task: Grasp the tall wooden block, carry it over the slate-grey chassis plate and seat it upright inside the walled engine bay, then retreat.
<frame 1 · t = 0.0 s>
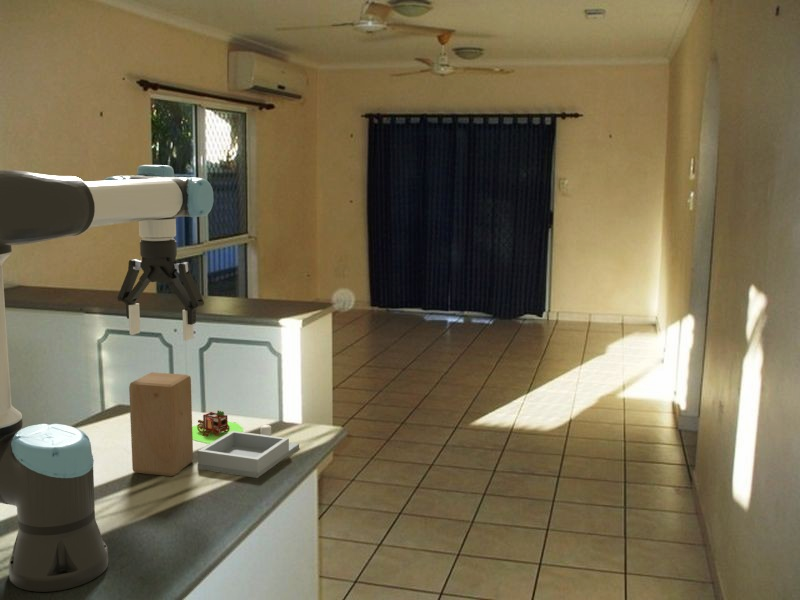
hand: (161, 336, 186), 28 cm above the counter, fingers open, 13 cm apart
wooden block: (163, 468, 187), on the counter
wagon: (216, 434, 211), on the counter
chassis: (250, 457, 193), on the counter
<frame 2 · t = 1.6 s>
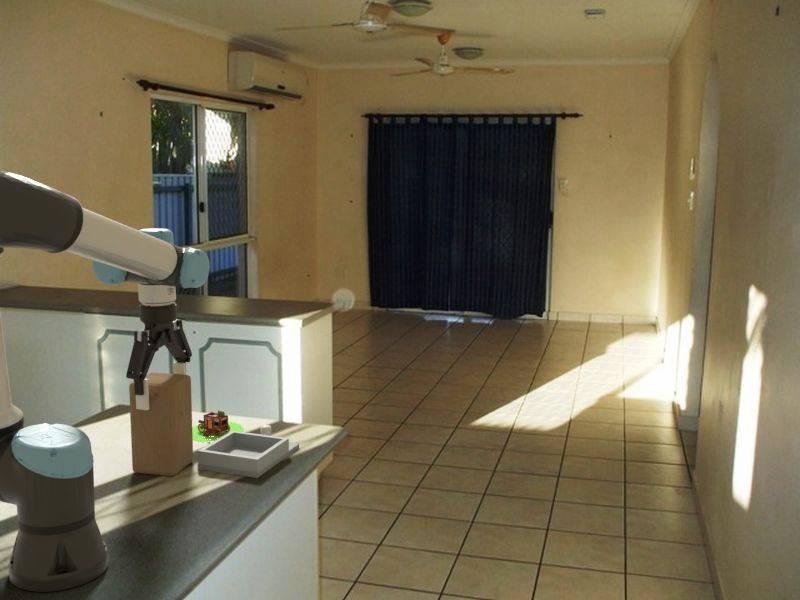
hand: (162, 400, 184), 15 cm above the counter, fingers open, 13 cm apart
nothing on the counter moved.
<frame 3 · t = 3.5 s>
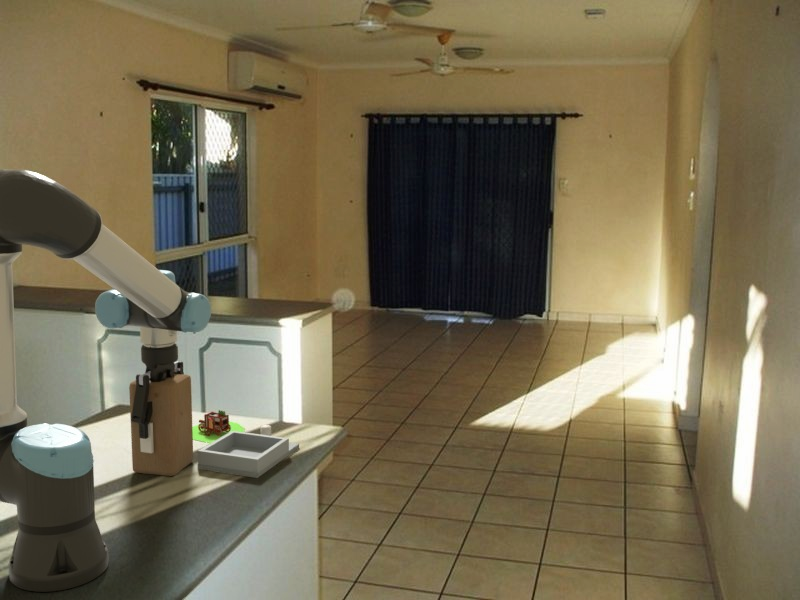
hand: (162, 443, 186), 5 cm above the counter, fingers closed on wooden block, 10 cm apart
wooden block: (163, 468, 187), on the counter, touching gripper
everything else where it was.
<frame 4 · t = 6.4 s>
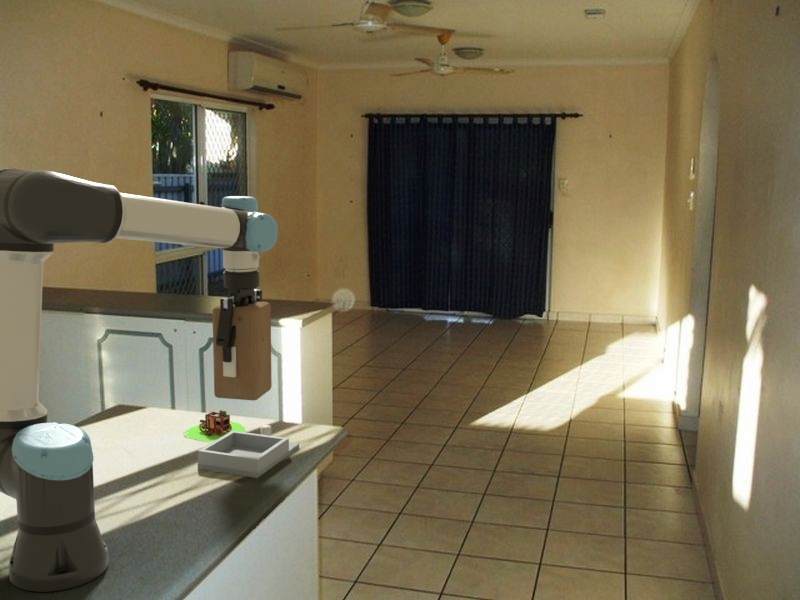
hand: (243, 370, 187), 21 cm above the counter, fingers closed on wooden block, 10 cm apart
wooden block: (243, 395, 188), point 15 cm above the counter, touching gripper
everything else where it was.
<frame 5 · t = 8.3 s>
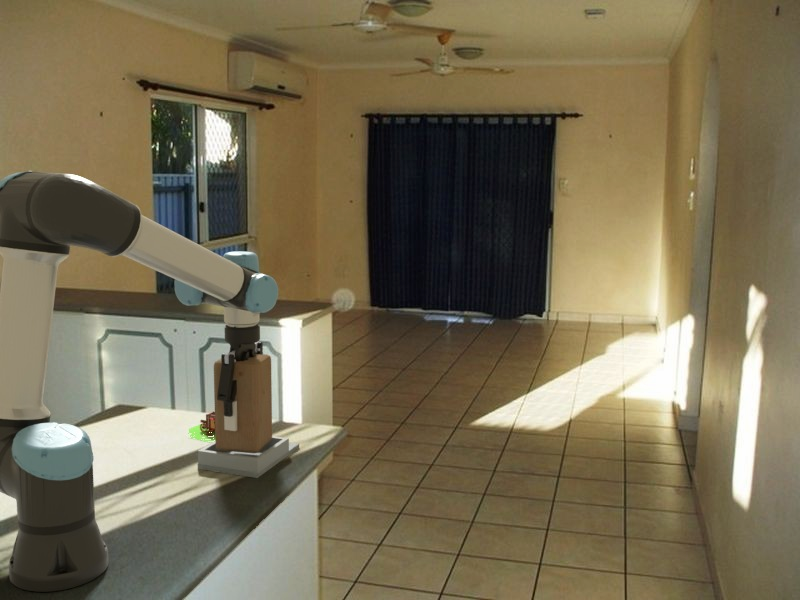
hand: (244, 422, 189), 9 cm above the counter, fingers closed on wooden block, 10 cm apart
wooden block: (244, 446, 190), point 3 cm above the counter, touching gripper
everything else where it was.
when the fingers open (8 cm above the counter, at t = 9.5 s): wooden block drops 2 cm, resting on chassis.
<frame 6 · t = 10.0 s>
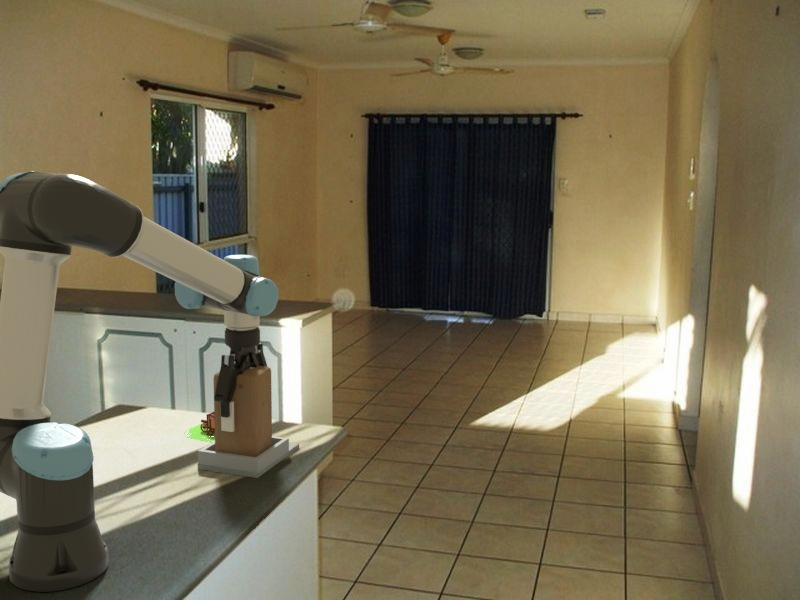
hand: (243, 421, 189), 9 cm above the counter, fingers open, 13 cm apart
wooden block: (244, 458, 191), point 1 cm above the counter, touching chassis
everything else where it was.
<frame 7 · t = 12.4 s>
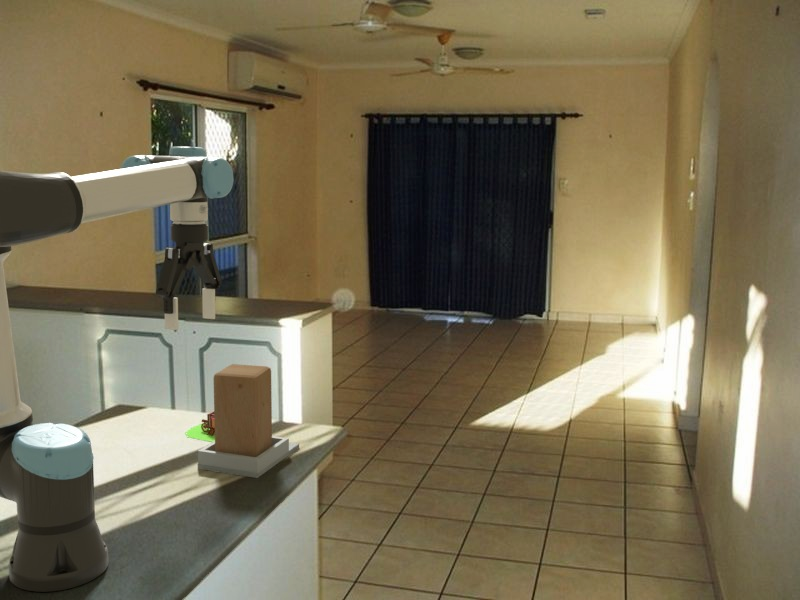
hand: (190, 323, 181), 32 cm above the counter, fingers open, 13 cm apart
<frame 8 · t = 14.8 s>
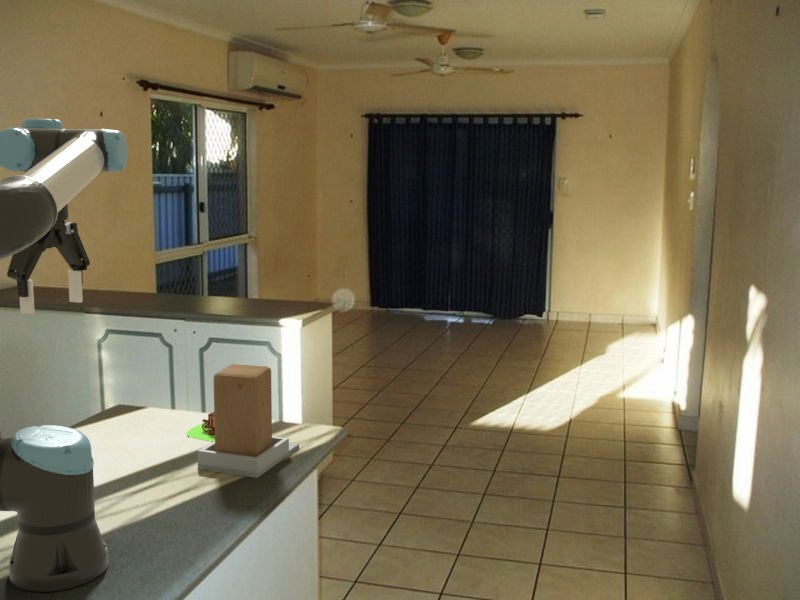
hand: (52, 307, 171), 37 cm above the counter, fingers open, 13 cm apart
at the end: wooden block 0.1 cm from the target spot on the chassis, point 0.8 cm above the chassis's base; wooden block tilted 0°; the gripper is holding nothing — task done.
